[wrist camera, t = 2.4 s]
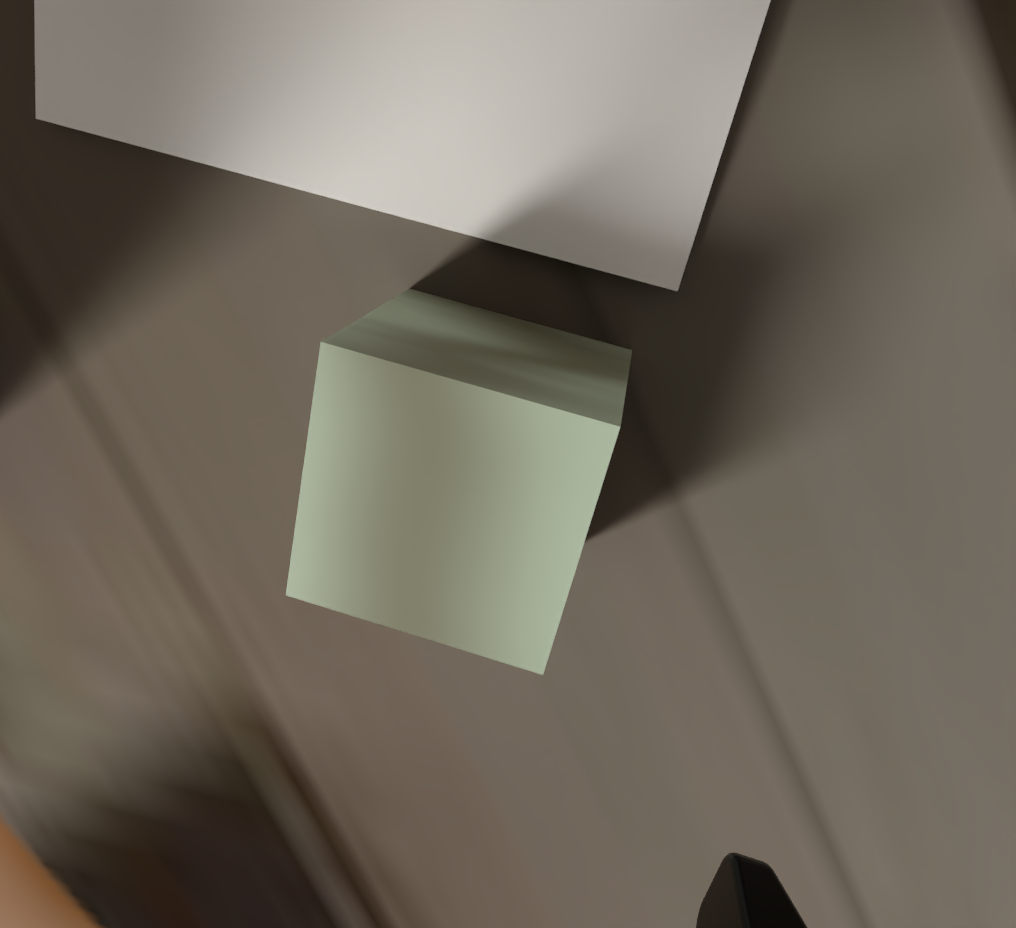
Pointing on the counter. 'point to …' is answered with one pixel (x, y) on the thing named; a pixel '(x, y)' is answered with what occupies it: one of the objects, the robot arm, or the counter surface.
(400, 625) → the sage block
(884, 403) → the counter surface
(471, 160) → the board
